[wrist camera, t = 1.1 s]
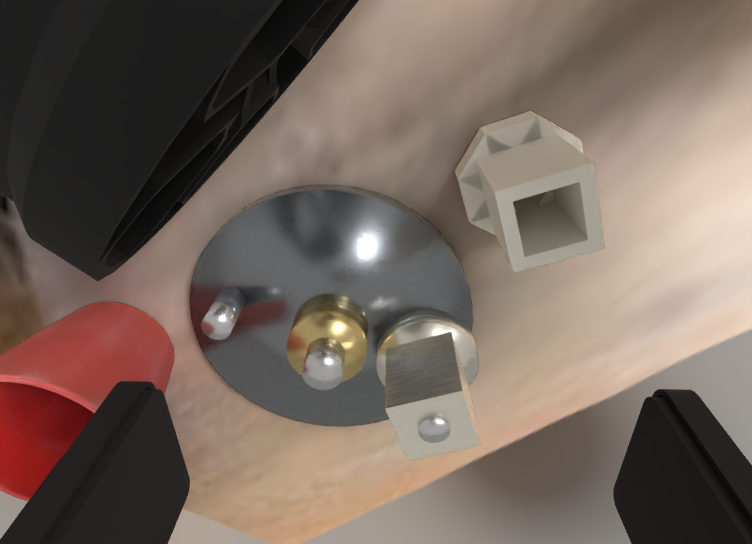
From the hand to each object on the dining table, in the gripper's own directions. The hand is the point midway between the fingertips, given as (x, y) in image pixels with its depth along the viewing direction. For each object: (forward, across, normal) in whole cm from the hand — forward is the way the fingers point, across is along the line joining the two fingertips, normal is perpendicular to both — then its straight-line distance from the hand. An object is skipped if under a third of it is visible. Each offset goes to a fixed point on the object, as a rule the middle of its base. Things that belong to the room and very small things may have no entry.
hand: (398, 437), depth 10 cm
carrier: (+21, +4, +12) cm, 24 cm away
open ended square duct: (+21, -7, +2) cm, 23 cm away
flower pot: (+21, +20, +14) cm, 32 cm away
